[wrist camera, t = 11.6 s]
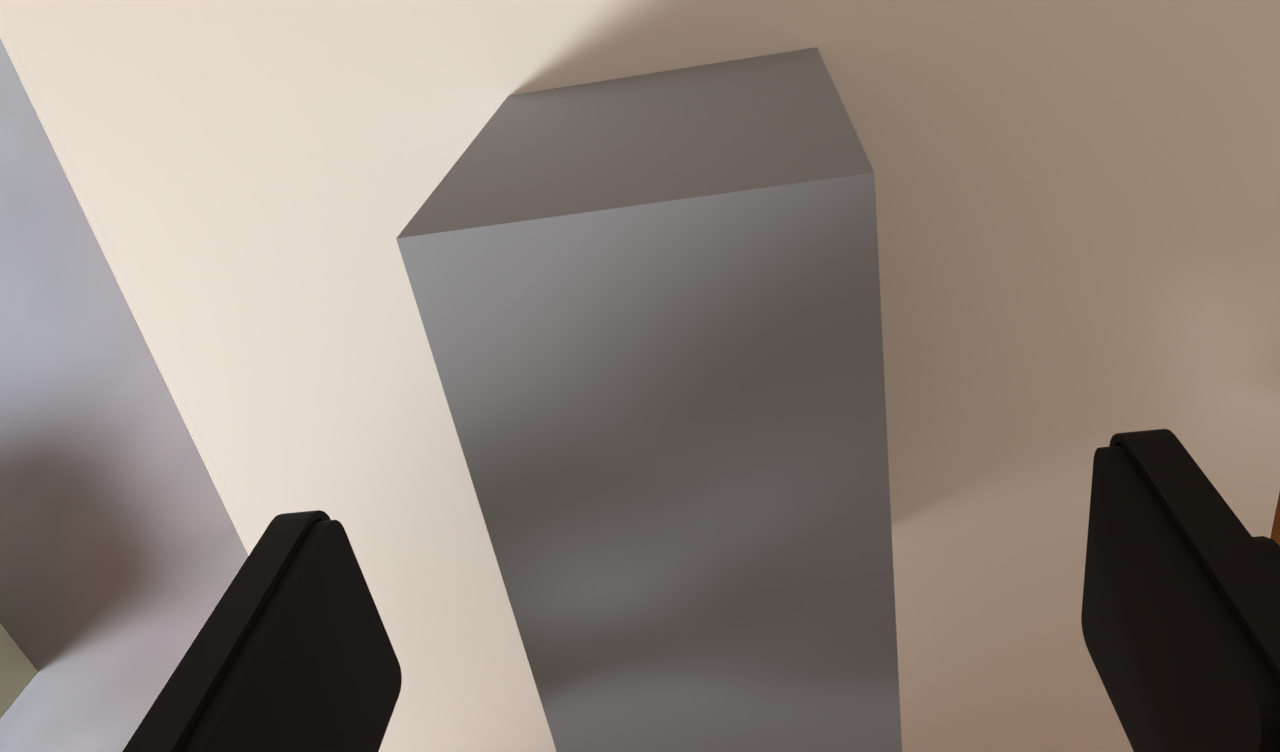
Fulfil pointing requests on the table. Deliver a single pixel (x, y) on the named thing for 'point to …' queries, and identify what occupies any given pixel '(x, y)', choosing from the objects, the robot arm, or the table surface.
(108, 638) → the table surface
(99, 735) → the table surface
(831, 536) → the slate brick
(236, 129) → the white board
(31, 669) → the sage brick
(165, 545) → the table surface
